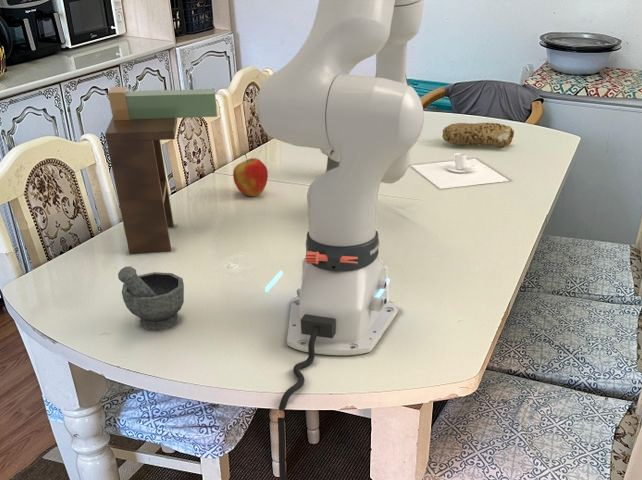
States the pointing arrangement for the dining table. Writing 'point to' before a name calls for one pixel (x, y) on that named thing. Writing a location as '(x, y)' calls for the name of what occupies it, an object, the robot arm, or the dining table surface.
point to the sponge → (478, 134)
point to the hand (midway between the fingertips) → (278, 105)
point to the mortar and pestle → (152, 297)
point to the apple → (250, 177)
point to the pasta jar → (161, 103)
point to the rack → (142, 181)
